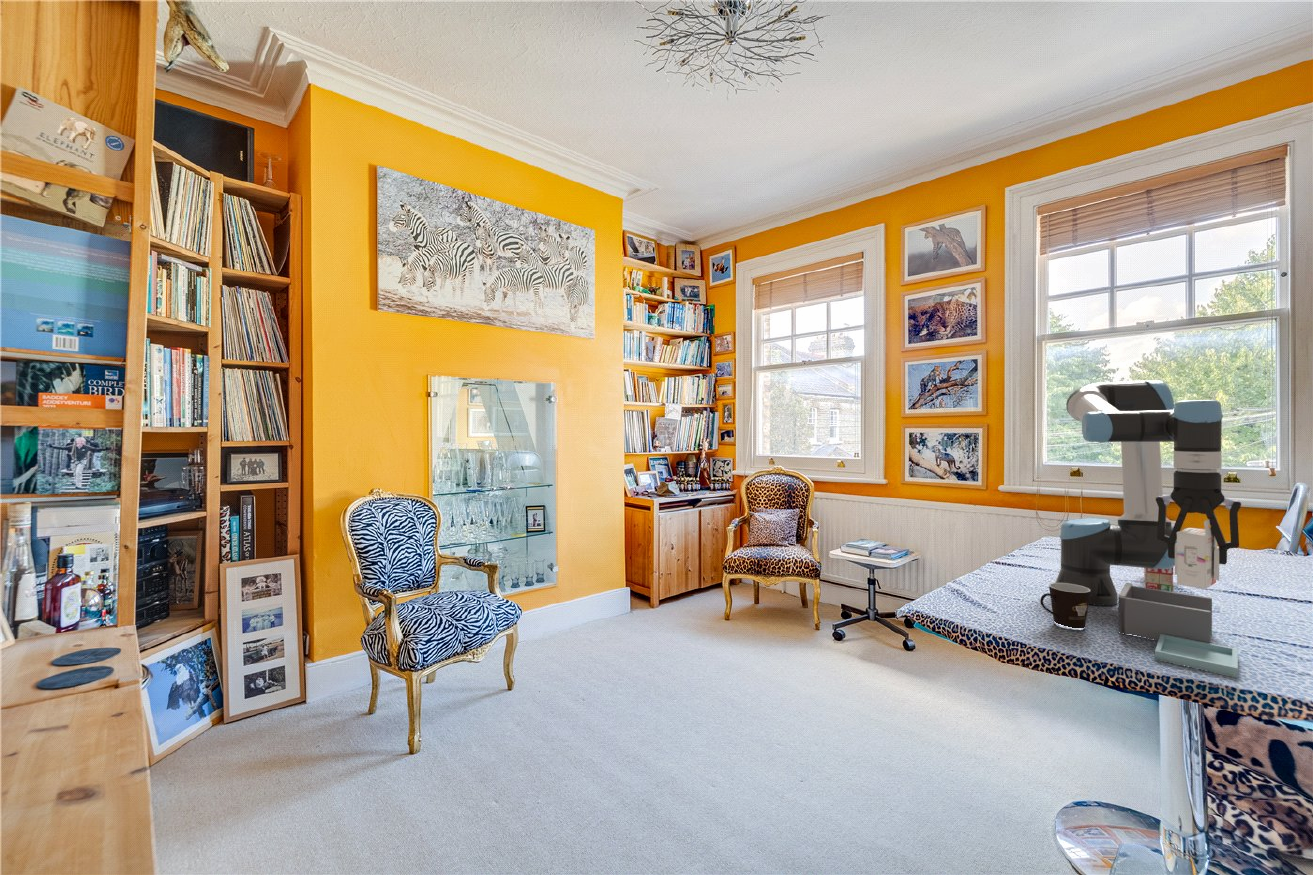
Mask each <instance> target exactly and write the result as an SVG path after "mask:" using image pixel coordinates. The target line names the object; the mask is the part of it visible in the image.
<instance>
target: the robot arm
mask: <svg viewBox="0 0 1313 875" xmlns="http://www.w3.org/2000/svg"><path fill="white" fill-rule="evenodd" d="M1173 396H1174V395H1173V394H1172V391H1171V389H1170V387H1169V386H1168V384H1167V383H1165V382H1164V381H1162V380H1146V379H1142V380H1129V381H1128V380H1124V381H1109V382H1108V381H1107V382H1105V381H1104V382H1103V381H1101V382H1093V383H1090V384H1087V385H1085V386H1082V387H1079V388H1078V389H1076V390H1074V391H1073V392H1072V393H1071V394H1070V395H1069V396H1068V398H1067V400H1066V406H1065V407H1066V411H1067V413H1068V415H1070V417H1072V418H1073V419H1074V420H1076V421H1077V422H1081V434H1082V438H1083V439H1084V441H1086V442H1090V443H1091V442H1095V443H1120V448H1121V468H1122V469H1121V471H1122V472H1121V473H1122V494H1123V496H1122V497H1123V514H1122V515H1120V516H1119V517H1118V518H1117V524H1111V521H1110V520H1108V519H1105V518H1095V517H1094V518H1087V517H1086V518H1078V519H1077V518H1076V519H1069V520H1066V521H1064V522H1063V523H1062V524H1061V526H1060V535H1059V539H1060V570H1059V572H1058V575H1057V577H1056V580H1055V582H1054V583H1069V584H1075V585H1080V586H1084V587H1087V588H1089V589H1090V590H1091V591H1090V598H1089V604H1095V605H1094V606H1102V605H1106V606H1113V604H1114V605H1116V604H1118V595H1119V593H1118V592H1117V589H1116V587H1115V585H1114V582H1113V579H1112V577H1111V566H1120V567H1130V568H1140V569H1141V568H1142V569H1144V568H1150V569H1170V568H1172V567H1173V568H1174V575H1176V576H1177V532H1179V531H1181V530H1182V526H1183V525H1184V522H1185V520H1186V517H1187V514H1193V513H1194V514H1195V513H1197V514H1201V515H1205V516H1206V518H1207V520H1208V519H1209V521H1210V525H1209V527H1211V528H1212V531H1213V533H1214V536H1215V538H1216V541H1217V548H1216V547H1214V580H1216V581H1220V565H1225V566H1226V565H1227V562H1228V550H1230V549H1237V548H1239V547H1240V537H1239V535H1240V534H1239V517H1238V515H1239V514H1238V513H1239V511H1240V509H1241V506H1242V501H1240V500H1234V499H1230V498H1226V497H1225V495H1224V494H1223V492H1222V473H1221V472H1219V471H1220V470H1222V464H1223V463H1222V455H1223V454H1222V453H1223V452H1222V430H1223V429H1222V424H1223V423H1222V421H1223V420H1222V419H1223V417H1224V415H1223V413H1222V412H1223V411H1222V404H1221V403H1222V402H1220V401H1219V400H1216V399H1203V400H1202V399H1193V400H1178V401H1176V402H1175V401H1174V397H1173ZM1161 443H1173V468H1174V469H1177V470H1175V471H1174V472H1173V488H1172V489H1173V490H1172V492H1171V493H1170V494H1168V495H1167V494H1166V495H1163V476H1162V458H1161V456H1162V455H1161ZM1171 501H1173V502H1174V503H1175V504H1176V505H1177V506H1178V507H1179V508H1180V510H1179V512H1178V515H1177V518H1176V519H1175V523H1174V524H1173V527H1172V520H1170V519H1169V518H1168V517H1167V510H1168V509H1167V508H1168V507H1167V506H1168V505H1170V502H1171ZM1221 504H1225V508H1226V509H1227V510H1229V531H1230V532H1229V535H1230V541H1226V539H1225V537H1224V534H1223V531H1222V529H1221V526H1220V524H1219V521H1218V519H1217V516H1216V514H1215V510H1216V509H1217V508H1218V507H1220V506H1221Z"/></svg>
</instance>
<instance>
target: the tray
mask: <svg viewBox="0 0 1313 875" xmlns="http://www.w3.org/2000/svg"><path fill="white" fill-rule="evenodd" d="M1238 652H1239V650H1238V648H1235V647H1230V646H1225V645H1220V644H1215V643H1211V642H1210V643H1205V642H1200V641H1194V640H1189V639H1184V638H1179V637H1174V636H1168V635H1163V634H1161V635H1160V638H1159V640H1158V641H1157V644H1156V647H1155V650H1154V660H1155V659H1156V660H1155V661H1157V660H1160V661H1159V662H1162V661H1164V663H1166V662H1169V663H1168V664H1171V663H1173V664H1172V665H1176V664H1178V665H1177V666H1180V665H1185V666H1189V667H1193V668H1192V669H1194V668H1198V669H1197V670H1199V669H1203V670H1207V671H1206V672H1208V671H1211V672H1210V673H1212V672H1215V673H1214V674H1217V673H1218V675H1222V676H1228V677H1230V678H1231V677H1232V678H1235V679H1237V678H1239V675H1238V673H1239V671H1238V670H1239V661H1238V659H1239V658H1238V656H1239V655H1238V654H1239V653H1238ZM1185 666H1184V667H1185ZM1189 667H1188V668H1189ZM1203 670H1202V671H1203Z"/></svg>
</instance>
